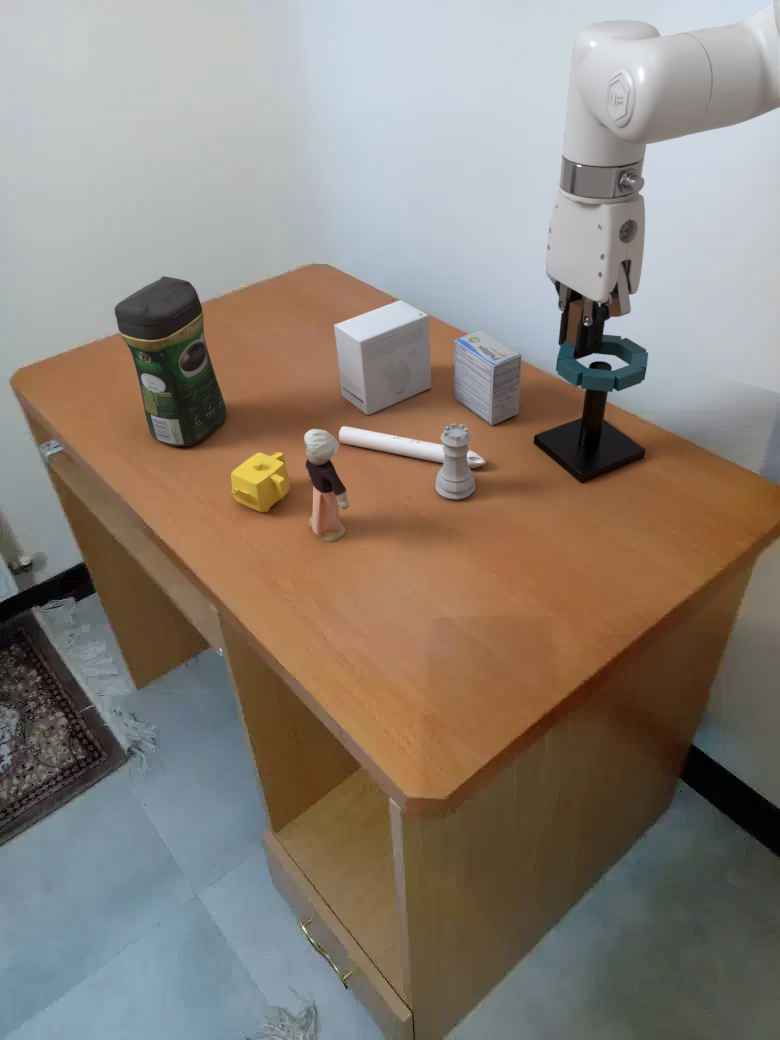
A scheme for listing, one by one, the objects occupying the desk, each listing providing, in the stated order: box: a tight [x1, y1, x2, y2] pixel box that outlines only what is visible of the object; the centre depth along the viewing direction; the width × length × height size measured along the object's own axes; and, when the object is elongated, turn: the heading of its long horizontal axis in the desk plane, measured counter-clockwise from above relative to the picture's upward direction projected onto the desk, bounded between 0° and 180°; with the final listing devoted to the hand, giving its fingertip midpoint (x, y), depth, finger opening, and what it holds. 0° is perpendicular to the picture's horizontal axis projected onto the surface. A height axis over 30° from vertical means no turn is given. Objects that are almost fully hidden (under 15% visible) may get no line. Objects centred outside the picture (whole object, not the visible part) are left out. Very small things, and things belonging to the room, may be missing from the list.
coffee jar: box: [113, 275, 227, 447], centre depth 94 cm, size 10×8×19 cm
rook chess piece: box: [434, 422, 476, 501], centre depth 85 cm, size 4×4×8 cm
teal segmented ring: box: [555, 298, 649, 393], centre depth 83 cm, size 9×9×6 cm
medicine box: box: [453, 329, 522, 426], centre depth 97 cm, size 8×4×9 cm, turn 32°
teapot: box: [230, 451, 291, 513], centre depth 86 cm, size 8×6×5 cm
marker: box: [338, 425, 487, 469], centre depth 92 cm, size 18×2×2 cm, turn 68°
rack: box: [533, 360, 646, 484], centre depth 89 cm, size 9×9×11 cm
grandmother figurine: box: [303, 428, 350, 543], centre depth 80 cm, size 8×4×13 cm, turn 45°
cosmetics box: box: [333, 299, 432, 416], centre depth 101 cm, size 10×6×10 cm, turn 125°
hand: (579, 347), depth 87 cm, fingers closed on teal segmented ring
